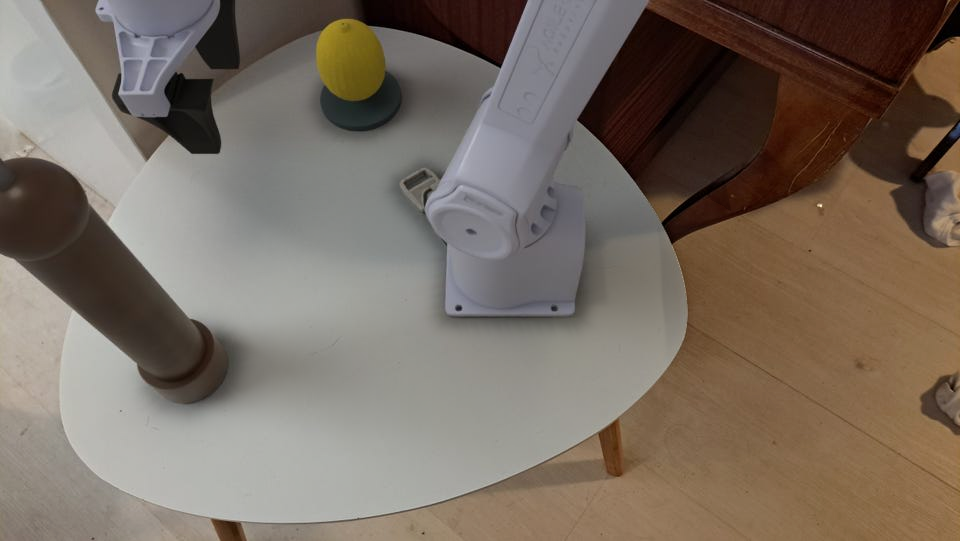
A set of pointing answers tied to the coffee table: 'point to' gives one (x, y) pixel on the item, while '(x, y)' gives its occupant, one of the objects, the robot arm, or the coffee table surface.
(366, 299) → the coffee table surface
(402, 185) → the strap clip
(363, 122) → the coaster
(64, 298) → the pepper mill
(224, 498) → the coffee table surface
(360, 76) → the lemon
